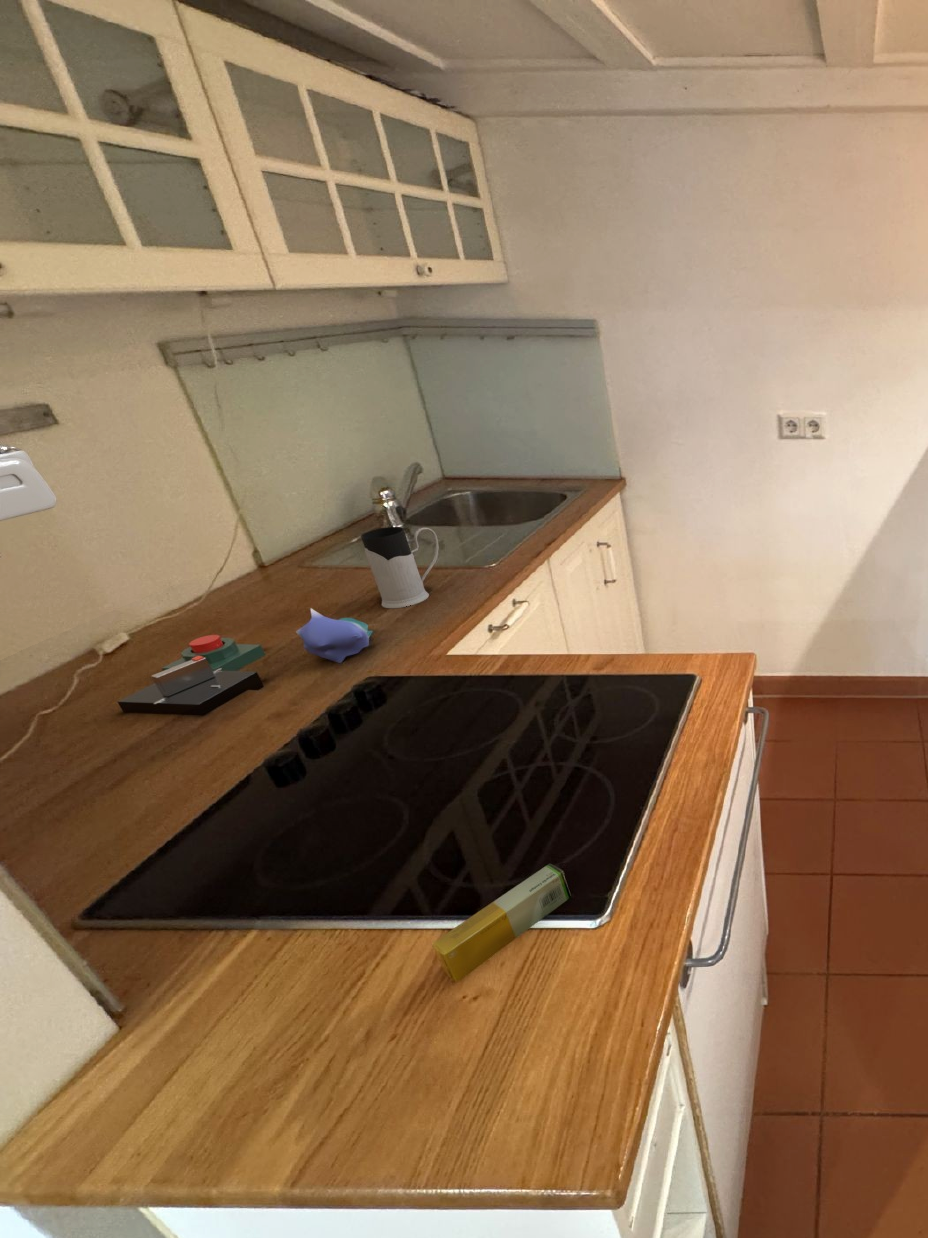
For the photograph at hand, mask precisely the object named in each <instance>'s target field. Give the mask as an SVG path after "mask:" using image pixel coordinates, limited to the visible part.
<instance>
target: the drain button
mask: <svg viewBox="0 0 928 1238" xmlns="http://www.w3.org/2000/svg"><path fill="white" fill-rule="evenodd" d="M221 638H222V637H221V636H220V634H219V635H218V634H210V635H208V634H207V635H204V636H201V637H197V638H195V639H193V640H191V641H190V642H189V643H188V644H189V647H191V649H192V650H193V652H194V653H203V652H208V651H211V650H214V649H217V648H219V647H221V646H223V642H222V640H221Z"/></svg>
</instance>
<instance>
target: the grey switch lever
mask: <svg viewBox="0 0 928 1238" xmlns="http://www.w3.org/2000/svg"><path fill="white" fill-rule="evenodd" d="M191 659H192V660H190V661H187V662H185V663H182V664H180V665H177V666H175V667H172V668H170V669H167V670H164V671H163V670H162V671H159V672H157V673H155V674H152V675H151V678H152V680H153V683H155V684H156V686H157V688H158V689H159V691H160V693H161V695H163V696H167V697H168V696H171V695H173V694H175V693H178V692H180V691H182V690H185V689H187V688H190V687H192V686H194V685H197V684H199V683H201V682H204V681H206V680H208V679H211V678H213V677H215V675H214V673H213V671H212V669H211V667H210V665H209V663H208V661H207V659H206V658H204V657H202V656H196V657H194V658H191Z"/></svg>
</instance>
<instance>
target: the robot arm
mask: <svg viewBox="0 0 928 1238" xmlns="http://www.w3.org/2000/svg"><path fill="white" fill-rule="evenodd" d="M56 504H57V496H56V494H55V493H54V492H53V490H52V488H51V487H50V485H48V483H47V482H46V480H45V479H44V477H43V476H42V475H41V474H40V472H38V470H37V469H36V468H35V465H34V463H33V462H32V460H31V458H30V456H29V454H28V453H27V452H26V451H25V450H23V449H21V448H19V447H17V446H10V445H9V444H5V443H4V444H0V522H2V521H7V520H10V519H14V518H19V517H22V516H26V515H30V514H35V513H39V512H42V511H43V512H44V511H47V510H51V509H54V508H55V507H56ZM0 558H2V554H1V553H0Z"/></svg>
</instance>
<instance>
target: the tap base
mask: <svg viewBox="0 0 928 1238" xmlns="http://www.w3.org/2000/svg"><path fill="white" fill-rule="evenodd" d="M221 669H222V668H219V669H217V670H212V671H213V673H214V675H215V677H213V678H211V679H208V680H206V681H204V682H201V683H199V684H197V685H194V686H192V687H190V688H187V689H185V690H182V691H180V692H178V693H175V694H173V695H171V696H168V697H167V696H163V695H161V693H160V691H159V689H158V688H157V686H156V684H155V682H153V683H151V684H149V685H148V686H146V687H144V688H142V689H139V690H138V691H136V692H134V693H132V694H129V695H128V696H126V697H124V698H122V699H120V700H118V701H117V704H118V706H119V707H120V709H121V711H122V713H124V714H145V715H146V714H147V715H148V714H150V715H173V716H174V715H177V716H202V717H203V716H206V715H208V714H209V713H211V712H213V711H215V710H216V709H218V708H220V707H221V706H223V705H225V704H227V703H228V702H230V701H232V700H233V699H235V698H237V697H238V696H241V695H242V694H244V693H245V692H248V691H260V690H261V689H263V688H264V687H265V686H264V683H263V681H262V680H261V677H260V675H259V673H258V671H255V670H253V671H252V670H237V671H222V670H221Z"/></svg>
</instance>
